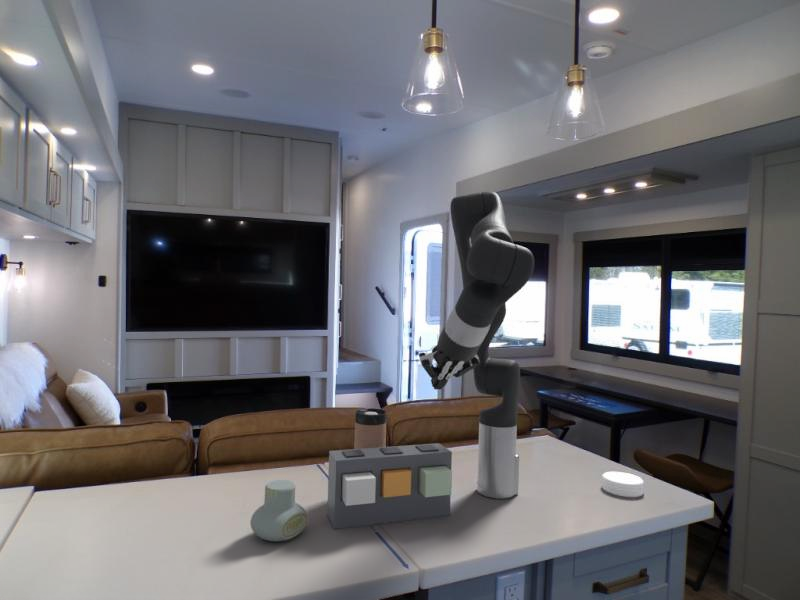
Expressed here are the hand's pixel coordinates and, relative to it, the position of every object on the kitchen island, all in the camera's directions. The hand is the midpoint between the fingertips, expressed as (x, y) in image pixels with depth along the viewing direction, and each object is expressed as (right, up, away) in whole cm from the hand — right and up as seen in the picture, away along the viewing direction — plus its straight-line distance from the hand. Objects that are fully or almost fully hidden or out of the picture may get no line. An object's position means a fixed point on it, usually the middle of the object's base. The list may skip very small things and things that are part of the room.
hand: (436, 385), depth 105 cm
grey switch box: (-10, -30, +7) cm, 32 cm away
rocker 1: (-16, -23, +1) cm, 29 cm away
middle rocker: (-9, -24, +6) cm, 26 cm away
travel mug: (-15, -30, +19) cm, 38 cm away
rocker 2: (0, -24, +7) cm, 25 cm away
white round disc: (+50, -32, +27) cm, 65 cm away
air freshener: (-31, -29, -3) cm, 43 cm away
